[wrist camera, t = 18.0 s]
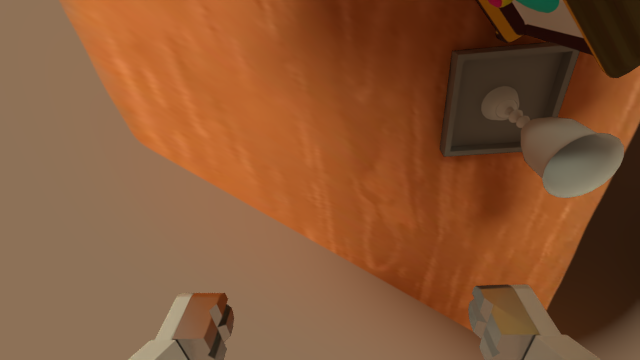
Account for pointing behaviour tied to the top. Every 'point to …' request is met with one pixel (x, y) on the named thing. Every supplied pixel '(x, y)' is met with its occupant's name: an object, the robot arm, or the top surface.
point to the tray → (496, 71)
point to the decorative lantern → (574, 27)
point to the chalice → (558, 147)
